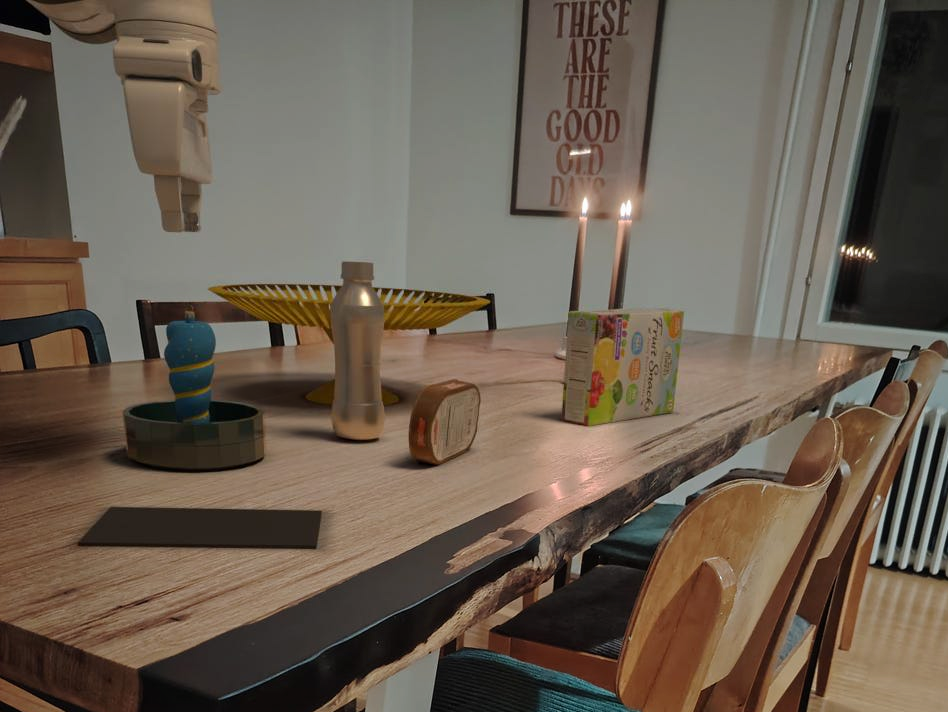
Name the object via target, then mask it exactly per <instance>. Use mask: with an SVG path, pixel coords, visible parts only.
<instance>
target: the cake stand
mask: <svg viewBox="0 0 948 712" xmlns="http://www.w3.org/2000/svg"><path fill="white" fill-rule="evenodd" d="M287 287H288V288H289V289H290V291H291V292H292V293H293V294H294V295H295V296H296V297H294V296H293V295H292V293H290V291H289V289H288V288H287ZM298 287H299V288H298ZM309 287H310V288H311V289H312V291H313V293H314V295H315V296H316V298H317V299H315V298H313V295H312V293H311V291H310V288H309ZM341 287H342V285H339V284H337V285H336V284H306V283H305V284H303V283H298V284H297V283H244V284H243V283H240V284H224V285H223V284H222V285H215V286H210V287H207V290H208V291H209V292H211V293H213V294H215V295H217V296H218V297H220V298H222V299H224V300H225V301H227V302H229V303H231V304H232V305H234V306H236V307H237V308H239V309H241V310H243V311H244V312H246V313H248V314H250V315H252V316H253V317H255V318H257V319H259V320H261V321H264V322H268V323H273V324H280V325H286V326H287V325H289V326H291V325H292V326H300V327H309V328H316V327H317V328H319V329H321V328H322V329H323V331H324V332H325V334H326V335H327V337H328V338H329V340H330V341H331V343H332V345H334V341H333V334H332V327H331V319H330V307H331V303H332V301H333V299H334V296H333V291H332V290H333V289H332V288H334V291H335V293H336V294H337V292H338V291H339V290H340V288H341ZM372 287H373V288H374V290H375V292H376V293H377V294H378V292H379V291H381V293H380V296H379V298H380V300H381V302H382V304H383V307H384V311H385V321H384V328H383V331H389V330H391V331H398V330H400V331H406V330H407V331H413V330H415V331H416V330H417V331H419V330H432V329H439V328H442V327H445V326H447V325H449V324H451V323H453V322H455V321H457V320H459V319H461V318H463V317H465V316H467V315H469V314H471V313H473V312H475V311H477V310H479V309H481V308H482V307H484V306H487V305H489V304H490V303H491V300H489V299H487V298H483V297H479V296H473V295H466V294H460V293H451V292H443V291H432V290H420V289H407V288H396V287H395V288H392V287H391V288H390V287H380V286H379V287H377V286H372ZM278 288H279V290H280V291H282V293H284V294H285V295H286V296H284V295H282V293H281V292H280V291H279V290H278ZM321 288H322V289H323V291H324V293H325V296H326V299H324V296H323V295H322V292H321ZM259 289H260V290H259ZM299 289H301V291H302V292H303V293H304V295H305V296H306V298H304V296H303V295H302V294H301V292H300V291H299ZM261 290H262V291H261ZM270 290H271V291H272V292H273V293H274V294H275V295H276V296H275V295H274V294H273V293H272V292H271V291H270ZM391 290H392V293H391V295H390V298H389V300H388V302H385V300H386V298H387V296H388V295H389V293H390V292H391ZM263 292H264V293H265V294H266V295H265V294H264V293H263ZM402 292H403V293H402ZM400 293H402V295H401V297H400V299H399V300H398V302H396V299H397V298H398V296H399V295H400ZM412 293H413V294H412ZM336 294H335V295H336ZM411 294H412V296H411V298H410V299H409V300H408V301H407V302H405V301H406V300H407V299H408V298H409V296H410V295H411ZM422 294H423V296H422V297H421V298H420V296H421V295H422ZM430 296H432V297H431V298H430V299H429V300H427V299H428V298H429V297H430ZM441 296H442V297H441ZM418 298H420V299H419V300H418V301H417V302H416V300H417V299H418ZM438 298H439V300H438V301H436V300H437V299H438ZM445 300H446V301H445ZM454 300H455V301H454ZM425 301H427V302H425ZM435 301H436V302H435ZM444 301H445V302H444ZM391 308H392V309H391ZM335 361H336V358H335V357H334V362H335ZM335 373H336V368H335V367H334V374H335ZM334 389H335V378H334V379H332V380H330V381H328V382H327V383H325V384H323V385H321V386H319V387H317V388H316V389H314V390H312V391H310V392H308V393H306V394H305V399H307V400H308V401H310V402H314V403H318V404H323V405H330V406H332V404H333V399H334V398H335V397H334ZM381 395H382V399H381V400H382V401H383V406H387V405H392V404H393V405H394V404H396V403H398V402H399V401H400V399H399V397H398V396H397V395H395V394H394V393H392V392H390V391H388V390H387V389H385V388H384V387H382V386H381Z"/></svg>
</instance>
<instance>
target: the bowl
mask: <svg viewBox="0 0 948 712" xmlns="http://www.w3.org/2000/svg"><path fill="white" fill-rule="evenodd" d="M208 411H209V416H210V420H209V423H181V421H180V419H179V416H178V413H177V411H176V407H175V399H171V400H155V401H149V402H141V403H138V404H134V405H130V406H127V407H126V408H124V409H123V410H122V411H121V412H122V421H123V430H124V441H125V451H126V454H127V457H128V458H129V459H131V460H134V461H136V462H137V463H140V464H142V465H145V466H148V467H151V468H156V469H162V470H169V471H182V472H183V471H185V472H205V471H206V472H208V471H221V470H229V469H235V468H240V467H243V466H247V465H250V464H252V463H254V462H256V461H258V460H260V459H261V458H264V457H265V456H266V453H267V439H266V438H267V437H266V416H265V415H266V413H265V411H264V410H263V409H262V408H261V407H259V406H255V405H253V404H248V403H243V402H237V401H227V400H218V399H211V401H210V405H209V408H208Z"/></svg>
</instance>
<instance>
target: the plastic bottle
mask: <svg viewBox="0 0 948 712" xmlns="http://www.w3.org/2000/svg"><path fill="white" fill-rule="evenodd" d="M340 266H341V274H340V279H342V280H343V281H342V285H341V286H342V287H341V288H340V290H339V291H338V292H337V294H335V295H334V296H333V301H332V303H331V307H330V306H329V309H330V319H331V327H332V334H333V341H334V344H333V351H334V359H335V358H336V361H335V360H334V363H335V364H334V369H335V368H336V373H335V372H334V379H335V389H334V397H335V398H334V399H333V404H332V405H331V412H330V420H331V425H332V430H333V432H334V433H335V435H336V436H338V437H341V438H344V439H347V440H352V441H360V442H361V441H368V440H373V439H378V438H380V437H381V435H382V433H383V432H384V429H385V423H386V415H385V407H384V406H385V405H383V401H382V400H381V399H382V395H381V387H382V382H381V362H380V361H381V358H382V357H381V355H382V342H383V335H384V330H383V328H384V321H385V311H384V307H383V304H382V302H381V300H380V296H379V295H378V292H377V293H376V292H375V290H374V288H373V287H374V286H373V283H372V282H373V281H375V275H374V262H365V261H347V260H346V261H341V265H340Z"/></svg>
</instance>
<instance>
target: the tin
mask: <svg viewBox="0 0 948 712" xmlns="http://www.w3.org/2000/svg"><path fill="white" fill-rule="evenodd" d="M480 407H481V392H480V390H479V388H478V386H477V385H476V384H475V383H472V382H468V381H463V380H458V379H457V378H452V379H449V380H444V381H440V382H436V383H431V384H428V385H426V386H424V387H423V389H422V390H421V391H420V392H419V394H418V396H417V397H416V399H415V401H414V404H413V407H412V410H411V414H410V419H409V425H408V449H409V452H410V453H409V454H410V455H411V457H412V459H413V460H414V461H415V462H417V463H425V464H430V465H437V466H438V465H442V464H443V463H446V462H448V461H450V460H453V459H454V458H457V457H459V456H462V455H463V454H466V453H467V452H468V451H469V450H470V448H471V447H472V446H473V443H474V442H475V438H476V436H477V432H478V423H479V416H480Z"/></svg>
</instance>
